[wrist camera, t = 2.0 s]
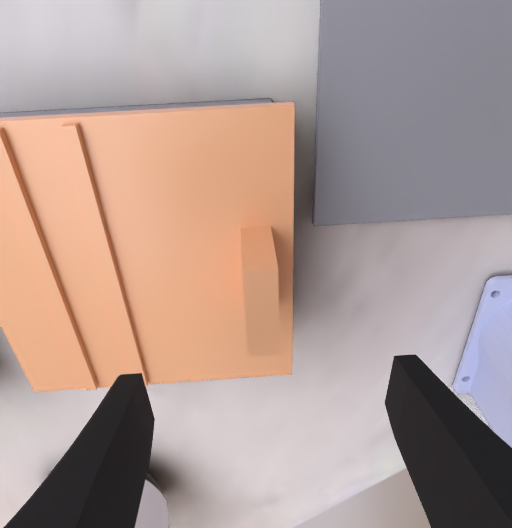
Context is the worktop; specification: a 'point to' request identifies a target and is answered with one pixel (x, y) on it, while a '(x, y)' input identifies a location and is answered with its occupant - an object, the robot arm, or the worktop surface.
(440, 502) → the robot arm
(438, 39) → the mat
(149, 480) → the spread jar
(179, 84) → the worktop surface
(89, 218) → the lid
